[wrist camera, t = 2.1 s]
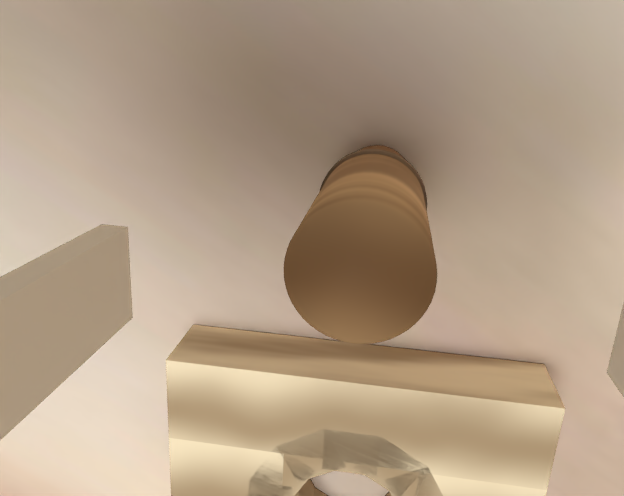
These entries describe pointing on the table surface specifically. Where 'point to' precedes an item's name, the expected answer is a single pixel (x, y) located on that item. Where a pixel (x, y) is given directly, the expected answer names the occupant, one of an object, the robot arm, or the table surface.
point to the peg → (364, 250)
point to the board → (354, 418)
